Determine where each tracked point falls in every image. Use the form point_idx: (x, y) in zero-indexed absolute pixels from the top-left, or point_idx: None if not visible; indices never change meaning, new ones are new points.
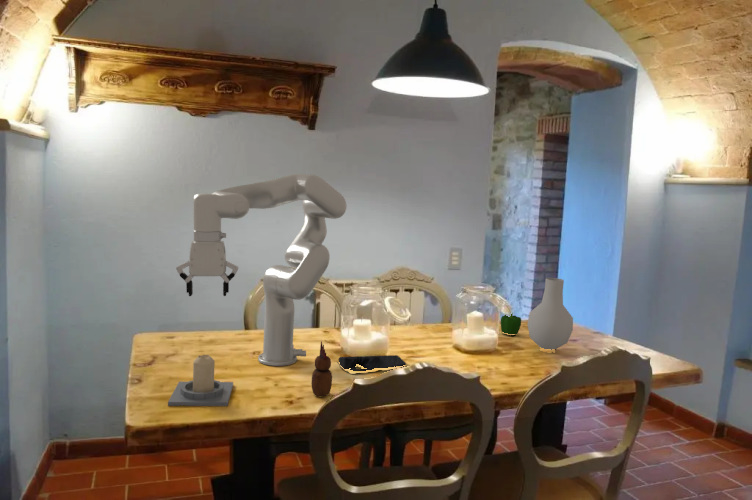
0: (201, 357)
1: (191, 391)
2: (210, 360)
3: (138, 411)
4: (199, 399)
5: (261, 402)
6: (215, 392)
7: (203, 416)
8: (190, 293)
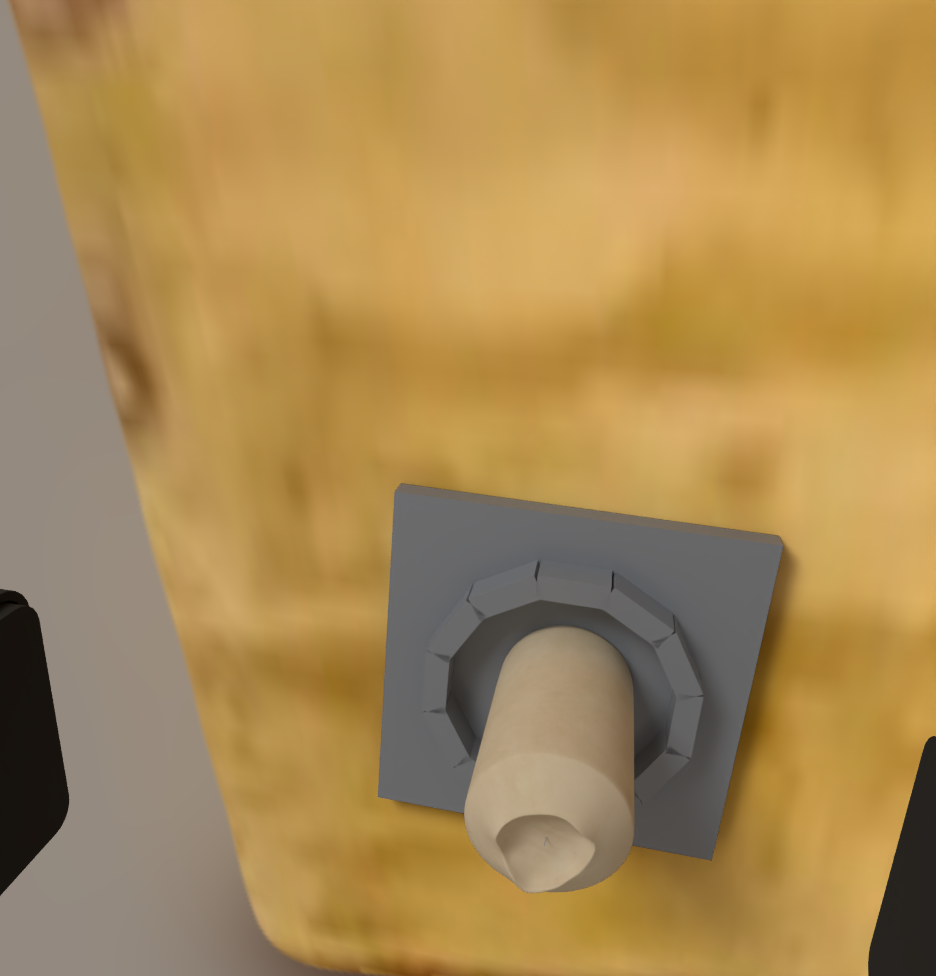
0: (522, 818)
1: None
2: (599, 876)
3: (255, 819)
4: None
5: None
6: (642, 797)
7: (577, 931)
8: (13, 868)
